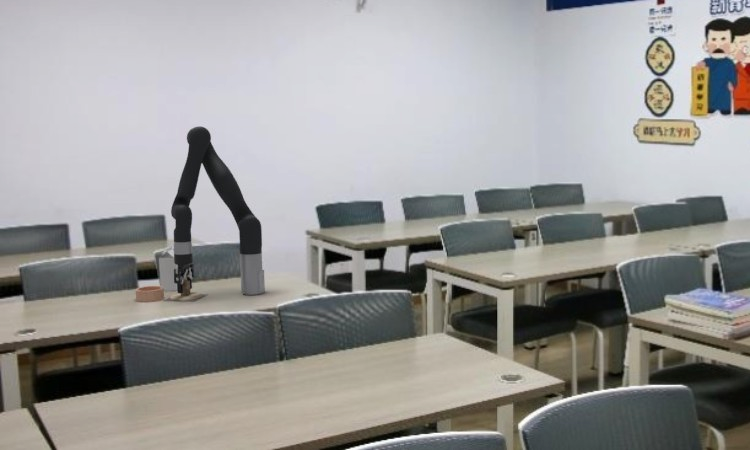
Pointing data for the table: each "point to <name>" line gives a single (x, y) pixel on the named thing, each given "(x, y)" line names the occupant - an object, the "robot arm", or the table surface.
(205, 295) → the mat
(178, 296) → the lid
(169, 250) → the milk carton
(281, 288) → the table surface
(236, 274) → the table surface
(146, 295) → the bowl
